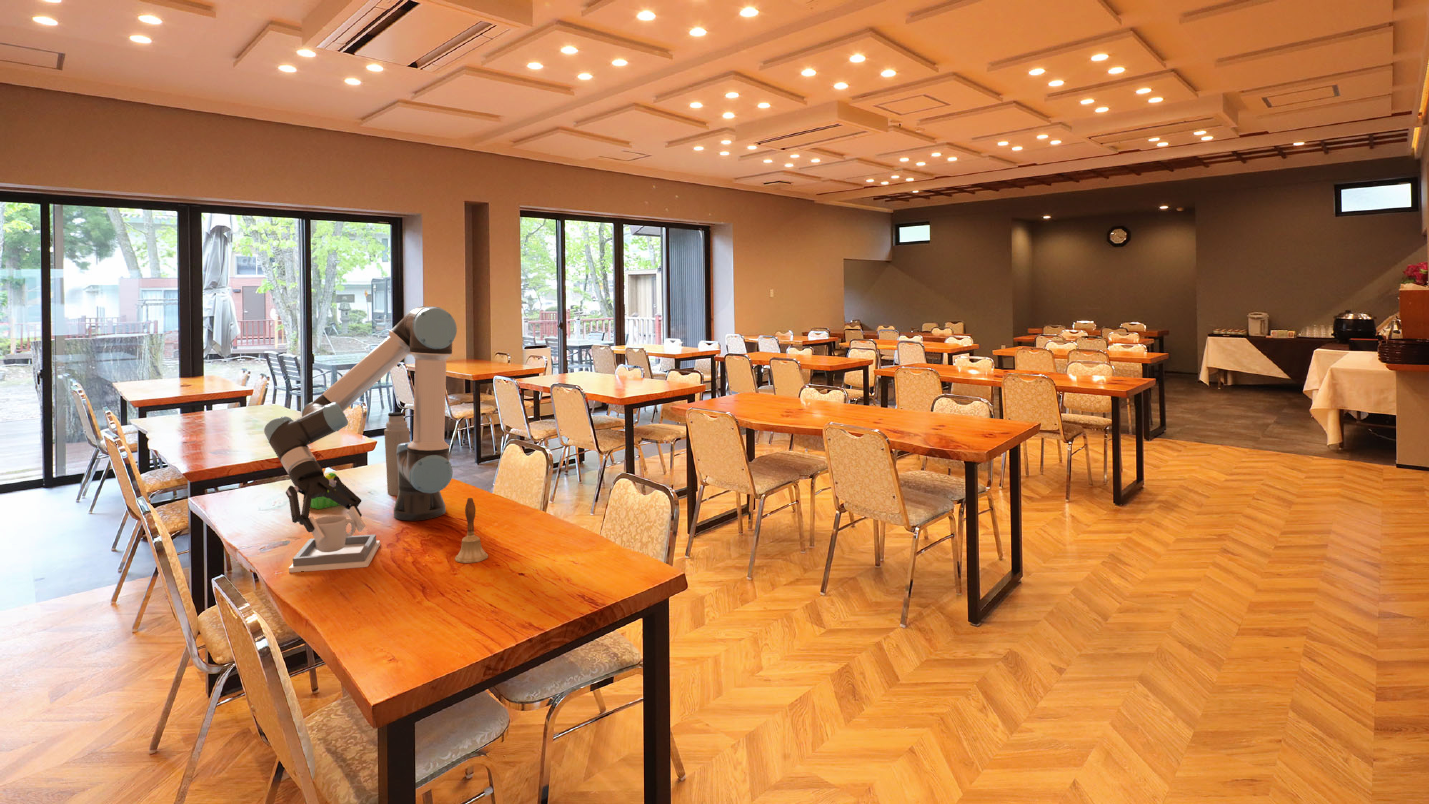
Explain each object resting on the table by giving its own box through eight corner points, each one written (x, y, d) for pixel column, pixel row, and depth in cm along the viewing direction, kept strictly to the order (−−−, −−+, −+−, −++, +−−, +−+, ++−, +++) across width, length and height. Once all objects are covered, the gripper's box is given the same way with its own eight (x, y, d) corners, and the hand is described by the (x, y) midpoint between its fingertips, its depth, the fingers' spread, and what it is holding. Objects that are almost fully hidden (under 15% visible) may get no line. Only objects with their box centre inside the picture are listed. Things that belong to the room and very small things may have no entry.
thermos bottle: (417, 490, 271) (413, 411, 267) (403, 495, 263) (399, 414, 259) (396, 489, 272) (392, 410, 268) (382, 494, 264) (378, 414, 261)
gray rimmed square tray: (380, 544, 212) (379, 533, 211) (367, 566, 194) (367, 554, 194) (308, 549, 207) (307, 537, 207) (289, 572, 190) (288, 560, 190)
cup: (347, 540, 207) (345, 511, 206) (364, 545, 203) (362, 516, 202) (307, 550, 198) (305, 520, 197) (324, 556, 194) (322, 526, 193)
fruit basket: (338, 500, 257) (336, 467, 256) (352, 504, 252) (350, 470, 251) (303, 507, 248) (301, 473, 247) (318, 512, 243) (315, 477, 242)
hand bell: (459, 553, 205) (456, 494, 203) (491, 552, 206) (489, 494, 204) (451, 563, 197) (448, 503, 195) (484, 563, 198) (482, 502, 195)
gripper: (337, 468, 216) (376, 531, 210) (253, 485, 196) (293, 555, 190) (348, 451, 212) (387, 515, 207) (263, 467, 193) (304, 538, 187)
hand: (342, 534), depth 198 cm, fingers closed on cup, 11 cm apart
